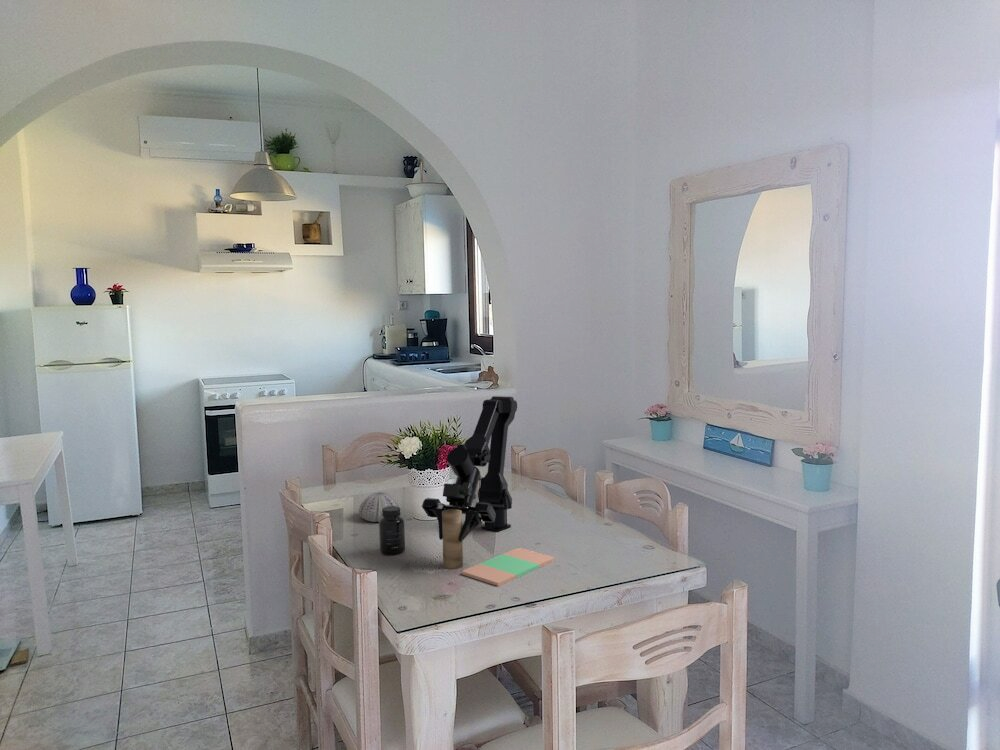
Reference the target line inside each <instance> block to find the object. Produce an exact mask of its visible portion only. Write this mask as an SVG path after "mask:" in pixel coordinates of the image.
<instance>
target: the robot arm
mask: <svg viewBox="0 0 1000 750" xmlns="http://www.w3.org/2000/svg"><path fill="white" fill-rule="evenodd" d="M481 409H482V410H481V413H480V415H479V417H478V421H477V422H476V424H475V425H476V426H475V428H474V431H473V434H472V436H471V437H469V438H468V439H466V440H465V442H464V444H463V443H461V444H460V443H458V444H457V447H455V448H452V449H451V450H449V452H448V453H447V454H446V461H447V463H448V464H449V467H450V468H451V470H452V472H453V474H454V475H455V476H457V477H456V481H455V483H444V484H443V490H442V491H443V492H442V497H445V500H446V502H447V503H448V504H445V503H442V502H441V501H440V499H439V498H434V497H433V498H430V497H426V498H425V499H424V500H423V502H422V503H421V504H422V505H421V507H422V509H423V511H424V512H425V514H426V516H428V517H429V518H436V519H437V522H438V524H437V525H438V537H439V538H438V539H439V540H442V541H443V535H442V511H444V510H447V509H459V510H461V511H462V515H463V514H464V515H465V516H464V517H465V518H464V523H462V530H461V533H460V538H459V541H460V542H462V543H463V542H464V540H465V539H466V537H467V536H468V535H469V534H470V533H471V532H472V531H473V530H474V529H475V528H476V527H477V526H478V525H481V527H480V528H482V529H486V530H489V531H493V532H500V531H503V530H505V529H508V528H510V527H512V524H510V523H509V524H508V510H511V509H512V507H513V505H512V504H513V497H512V496H511V493H510V491H509V489H508V488H509V486H508V485H509V484H508V482H507V480H506V477H505V476H504V471H505V461H506V451H507V450H506V449H507V440H508V430H509V426H510V425H511V424H512V423H513V421H514V419H515V415H516V412H517V411H518V401H517V400H515V399H514V397H513V396H501V395H500V396H498V395H496V396H494V395H493V396H491V398H489V399H485V400H483V402H482V408H481ZM489 443H490V445H489ZM487 464H488V465H487ZM486 466H487V473H486V474H485V475H484V477H482V476H481V471H480V469H479V468H478V467H486ZM479 481H480V482H479ZM479 483H480V484H479ZM478 484H479V487H478ZM477 487H478V491H477ZM476 491H477V495H476ZM476 498H478V502H476V503H475V506H473V502H474V500H476ZM483 523H484V524H483Z"/></svg>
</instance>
